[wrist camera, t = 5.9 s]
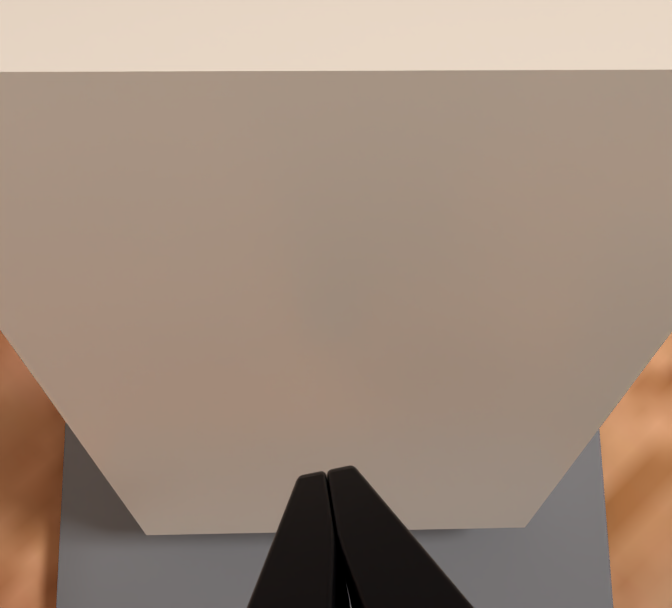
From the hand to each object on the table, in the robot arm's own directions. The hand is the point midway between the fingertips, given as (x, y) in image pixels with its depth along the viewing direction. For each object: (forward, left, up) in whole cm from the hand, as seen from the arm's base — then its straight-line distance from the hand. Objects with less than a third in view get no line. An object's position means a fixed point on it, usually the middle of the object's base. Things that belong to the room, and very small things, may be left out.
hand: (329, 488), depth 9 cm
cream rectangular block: (-1, 0, -7) cm, 7 cm away
